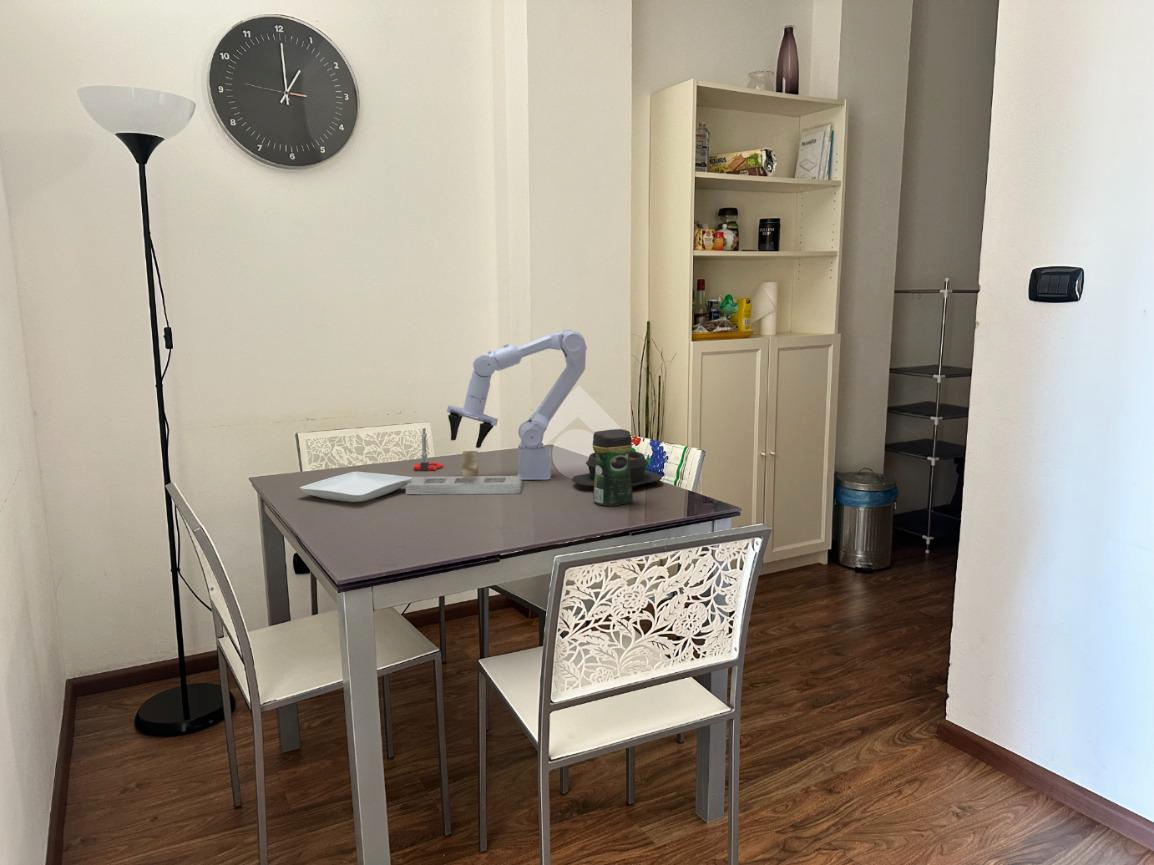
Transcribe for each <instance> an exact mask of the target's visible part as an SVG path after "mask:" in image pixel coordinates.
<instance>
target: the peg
mask: <svg viewBox="0 0 1154 865" xmlns="http://www.w3.org/2000/svg"><path fill="white" fill-rule="evenodd" d="M478 453H479V451H478V450H474V451H473V450H469V451H468V450H467V451H465V450H464V451H463V452H462V453H461V469H462V470H461V472H462V475H461V476H480V475H479V454H478Z"/></svg>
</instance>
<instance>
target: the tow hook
mask: <svg viewBox="0 0 1154 865" xmlns="http://www.w3.org/2000/svg"><path fill="white" fill-rule="evenodd" d="M421 447H422V450H421V451H422V453H421V462H420V463H417V464H415V465H413V471H415V470H424V471H423V472H436V471H435V470H438V469H442V468H443V467H444V464H443V463H440V462H429V461H428V453H427V434H426V427H423V428H422V435H421ZM429 465H433V466H429ZM428 470H430V471H428Z"/></svg>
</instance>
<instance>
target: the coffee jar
mask: <svg viewBox="0 0 1154 865" xmlns="http://www.w3.org/2000/svg"><path fill="white" fill-rule="evenodd" d="M592 439H593V440H592V450H593V453H595V458H596V466H595V480H594V486H593V492H592V494H593V498H592V499H593V501H594V503H595V504H597V505H598V506H601V505H602V506H605V507H612V506H613V505H615V506H621V505H620V504H622V505H626V504H630V503H632V501H633V500H634V499H633V498H634V495H633V488H632V484H631V475H630V462H629V461H630V451H632V447H633V443H632V435H631V432H630V431H629V430H626V429H623V428H616V429H615V428H614V429H605V430H597V431H594V432H593V436H592Z"/></svg>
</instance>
